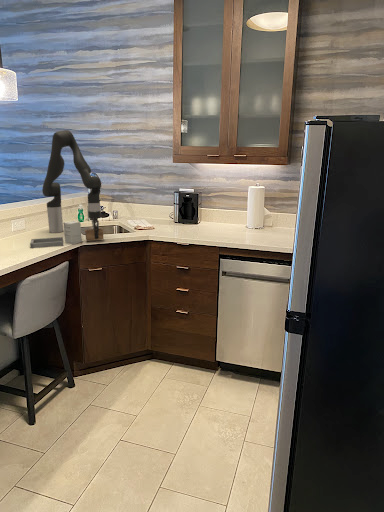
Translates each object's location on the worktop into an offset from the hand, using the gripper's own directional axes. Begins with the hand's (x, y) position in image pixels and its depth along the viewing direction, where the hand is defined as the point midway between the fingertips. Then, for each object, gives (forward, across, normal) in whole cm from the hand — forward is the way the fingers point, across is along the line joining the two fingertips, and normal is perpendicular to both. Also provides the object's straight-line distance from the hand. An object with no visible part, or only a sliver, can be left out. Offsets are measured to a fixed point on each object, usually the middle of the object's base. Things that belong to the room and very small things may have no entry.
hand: (96, 237), depth 245 cm
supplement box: (+2, 0, -14) cm, 14 cm away
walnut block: (+1, 0, -1) cm, 1 cm away
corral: (+2, 0, -29) cm, 29 cm away
